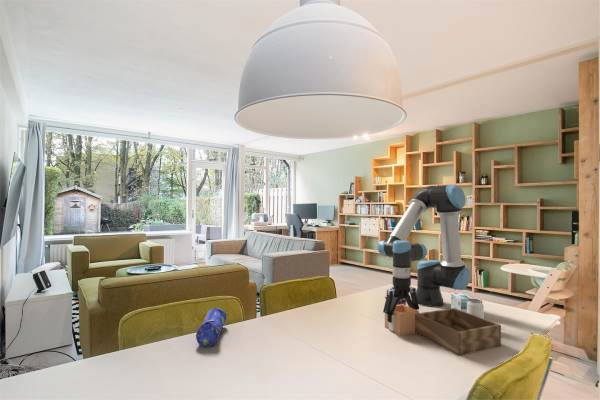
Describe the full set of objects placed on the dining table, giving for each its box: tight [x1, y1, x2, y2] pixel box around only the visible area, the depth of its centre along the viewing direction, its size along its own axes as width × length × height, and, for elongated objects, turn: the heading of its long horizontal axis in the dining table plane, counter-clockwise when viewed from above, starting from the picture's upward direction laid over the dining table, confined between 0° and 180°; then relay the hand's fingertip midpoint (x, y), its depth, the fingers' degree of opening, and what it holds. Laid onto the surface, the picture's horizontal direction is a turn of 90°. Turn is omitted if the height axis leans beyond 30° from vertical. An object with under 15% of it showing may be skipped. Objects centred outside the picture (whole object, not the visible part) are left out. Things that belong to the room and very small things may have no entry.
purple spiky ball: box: [384, 286, 408, 306], centre depth 166 cm, size 12×12×12 cm
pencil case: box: [195, 307, 227, 348], centre depth 131 cm, size 22×9×10 cm, turn 5°
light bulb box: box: [450, 292, 474, 313], centre depth 154 cm, size 11×7×11 cm, turn 179°
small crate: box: [384, 304, 420, 337], centre depth 140 cm, size 10×10×9 cm
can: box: [467, 298, 485, 319], centre depth 142 cm, size 6×6×12 cm
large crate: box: [414, 308, 502, 357], centre depth 130 cm, size 22×22×8 cm
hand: (401, 327), depth 139 cm, fingers closed on small crate, 10 cm apart
